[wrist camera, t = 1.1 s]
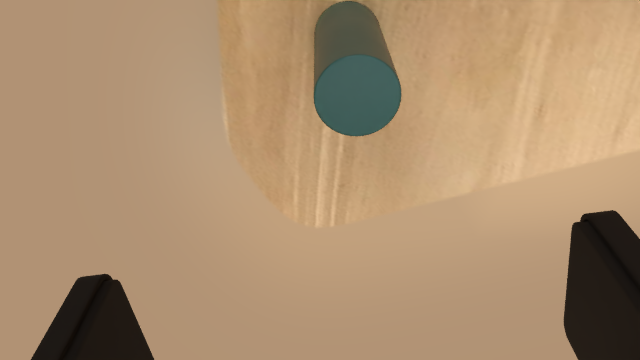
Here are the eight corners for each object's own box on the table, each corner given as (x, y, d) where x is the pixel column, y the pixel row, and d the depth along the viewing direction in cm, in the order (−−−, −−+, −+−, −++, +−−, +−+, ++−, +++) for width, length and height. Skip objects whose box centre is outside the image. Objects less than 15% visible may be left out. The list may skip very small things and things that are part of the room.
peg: (320, 70, 28) (321, 142, 21) (309, 6, 26) (306, 62, 20) (383, 60, 28) (405, 130, 21) (376, -5, 26) (397, 48, 19)
